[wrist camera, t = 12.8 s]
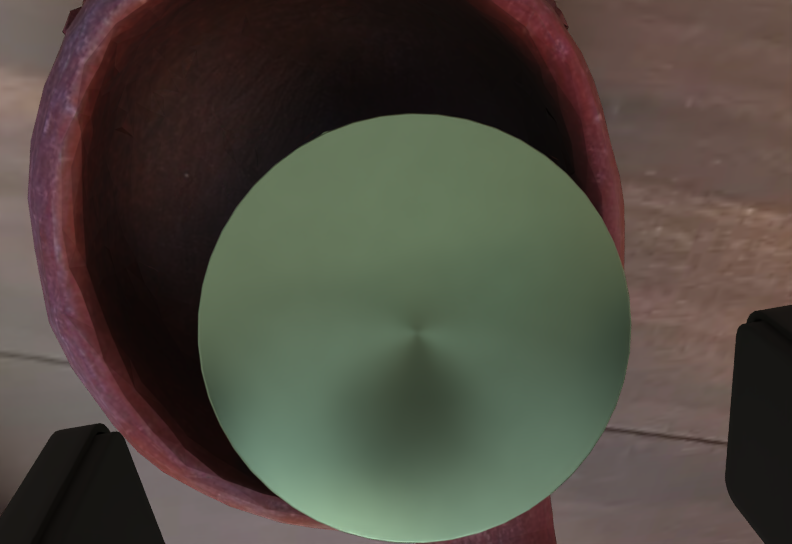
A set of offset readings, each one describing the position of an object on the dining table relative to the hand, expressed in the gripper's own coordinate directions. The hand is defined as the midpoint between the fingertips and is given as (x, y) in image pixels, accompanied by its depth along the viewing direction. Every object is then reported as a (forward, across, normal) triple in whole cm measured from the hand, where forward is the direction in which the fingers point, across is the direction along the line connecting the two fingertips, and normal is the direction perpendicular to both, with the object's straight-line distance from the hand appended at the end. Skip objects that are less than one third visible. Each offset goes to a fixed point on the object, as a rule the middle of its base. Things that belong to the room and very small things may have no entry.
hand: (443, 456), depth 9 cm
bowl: (+11, 0, 0) cm, 11 cm away
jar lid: (+2, 0, -1) cm, 2 cm away
